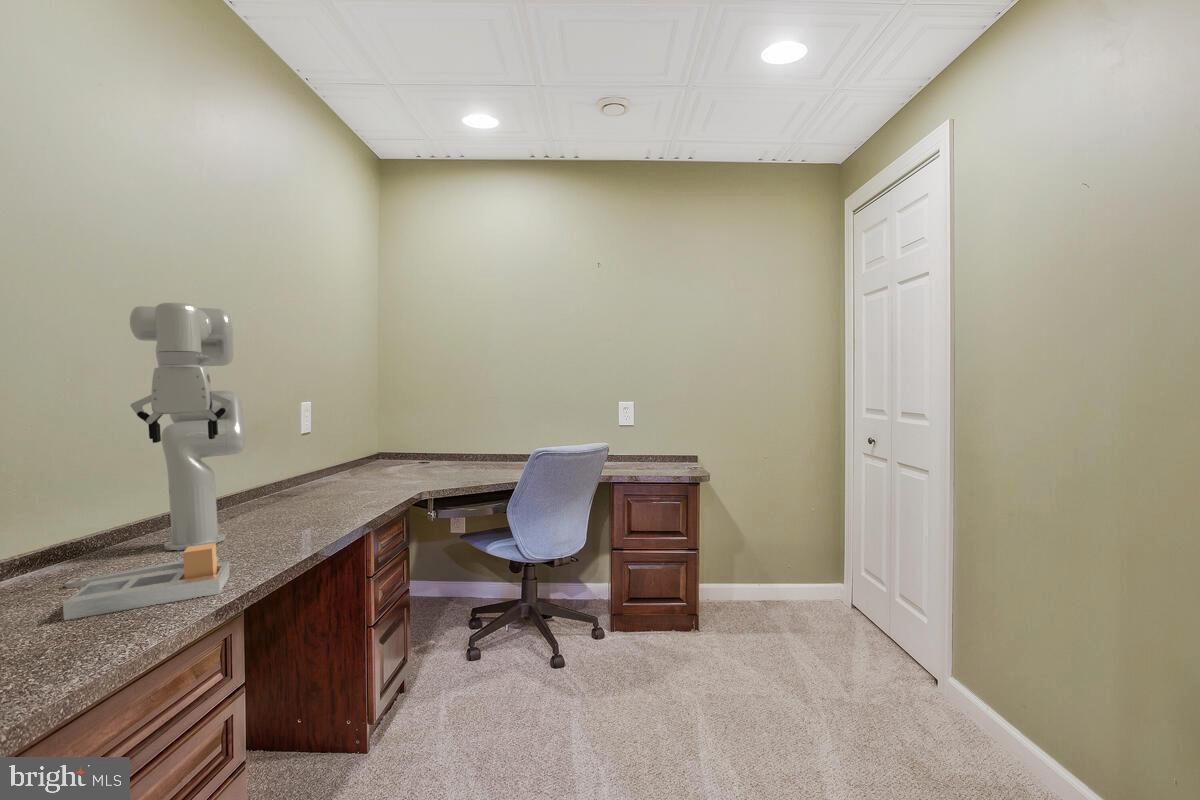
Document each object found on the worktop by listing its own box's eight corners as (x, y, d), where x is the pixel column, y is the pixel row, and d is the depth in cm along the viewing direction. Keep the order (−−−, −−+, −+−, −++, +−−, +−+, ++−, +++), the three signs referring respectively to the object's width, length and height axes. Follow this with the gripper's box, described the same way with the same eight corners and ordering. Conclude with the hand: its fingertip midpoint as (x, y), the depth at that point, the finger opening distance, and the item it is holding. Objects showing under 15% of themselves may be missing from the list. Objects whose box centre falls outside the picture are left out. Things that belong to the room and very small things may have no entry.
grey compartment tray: (91, 597, 103) (90, 581, 103) (229, 575, 113) (229, 560, 113) (63, 620, 92) (62, 603, 92) (219, 593, 102) (218, 578, 102)
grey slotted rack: (63, 592, 108) (63, 583, 108) (74, 583, 113) (73, 574, 113) (216, 565, 121) (215, 557, 121) (219, 558, 126) (218, 551, 126)
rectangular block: (190, 586, 107) (187, 546, 106) (217, 582, 109) (215, 543, 108) (185, 594, 103) (183, 552, 102) (214, 589, 105) (212, 548, 105)
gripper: (231, 361, 123) (235, 436, 124) (134, 362, 115) (139, 442, 116) (225, 359, 116) (230, 438, 117) (122, 360, 109) (127, 445, 109)
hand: (184, 440), depth 116 cm, fingers open, 9 cm apart
